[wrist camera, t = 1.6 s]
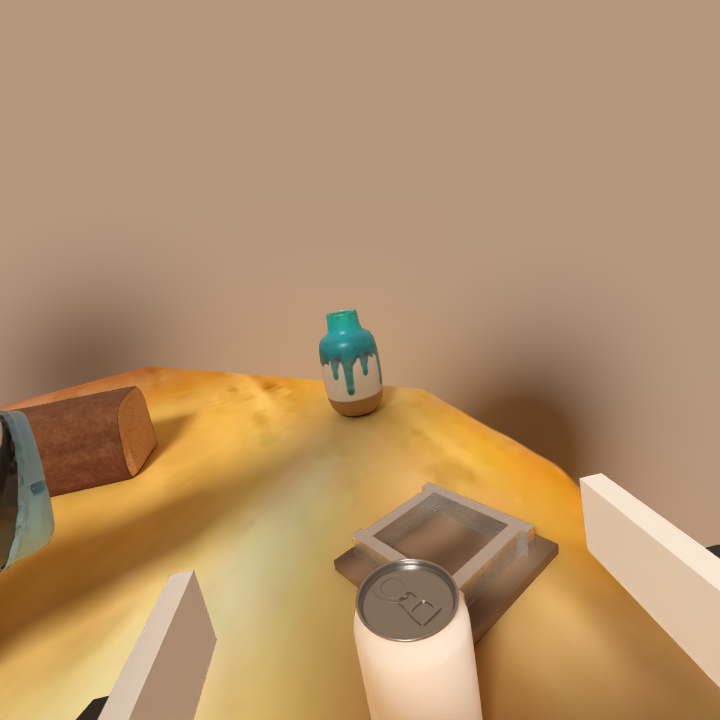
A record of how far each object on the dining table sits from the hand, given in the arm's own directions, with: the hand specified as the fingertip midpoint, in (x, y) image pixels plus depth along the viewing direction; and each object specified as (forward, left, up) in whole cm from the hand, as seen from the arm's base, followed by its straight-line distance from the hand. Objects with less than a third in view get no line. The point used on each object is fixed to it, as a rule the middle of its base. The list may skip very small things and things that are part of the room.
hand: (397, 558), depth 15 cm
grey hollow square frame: (-16, +18, -21) cm, 31 cm away
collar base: (-16, +18, -21) cm, 31 cm away
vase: (-53, +38, -21) cm, 68 cm away
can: (-6, +5, -21) cm, 22 cm away
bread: (-81, -12, -21) cm, 84 cm away
